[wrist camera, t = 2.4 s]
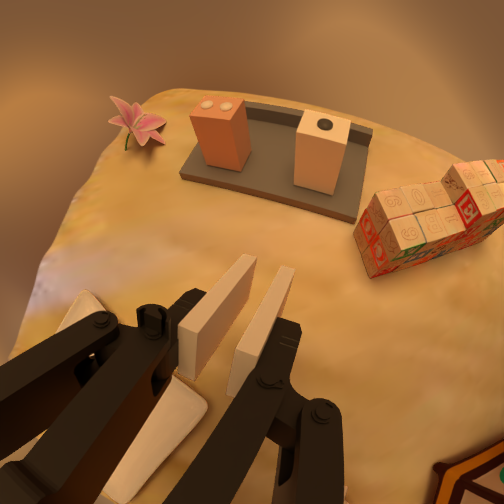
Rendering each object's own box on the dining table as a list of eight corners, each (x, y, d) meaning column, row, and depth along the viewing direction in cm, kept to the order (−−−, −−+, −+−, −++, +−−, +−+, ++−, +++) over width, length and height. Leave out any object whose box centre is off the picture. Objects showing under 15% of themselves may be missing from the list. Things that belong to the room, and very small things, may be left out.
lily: (149, 180, 39) (157, 127, 32) (88, 161, 36) (88, 110, 29) (174, 143, 46) (186, 98, 39) (121, 128, 44) (127, 84, 37)
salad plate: (37, 395, 26) (22, 394, 23) (97, 291, 32) (82, 284, 29) (134, 500, 20) (121, 509, 17) (219, 399, 26) (212, 404, 23)
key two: (251, 150, 35) (243, 97, 27) (240, 171, 34) (229, 118, 25) (218, 144, 36) (204, 93, 28) (206, 164, 35) (188, 113, 26)
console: (366, 147, 36) (372, 129, 32) (353, 224, 32) (362, 207, 28) (221, 116, 41) (217, 98, 37) (182, 178, 37) (173, 161, 33)
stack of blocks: (368, 281, 29) (415, 235, 18) (351, 233, 31) (382, 170, 20) (482, 241, 29) (530, 200, 18) (465, 205, 31) (506, 157, 20)
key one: (338, 171, 33) (351, 118, 24) (332, 195, 31) (346, 142, 23) (301, 161, 34) (305, 107, 25) (293, 184, 32) (296, 129, 24)
